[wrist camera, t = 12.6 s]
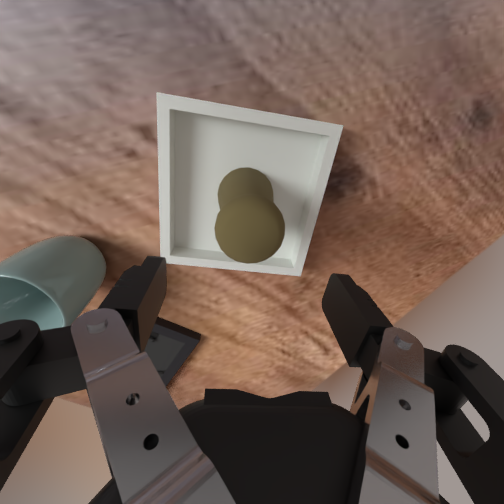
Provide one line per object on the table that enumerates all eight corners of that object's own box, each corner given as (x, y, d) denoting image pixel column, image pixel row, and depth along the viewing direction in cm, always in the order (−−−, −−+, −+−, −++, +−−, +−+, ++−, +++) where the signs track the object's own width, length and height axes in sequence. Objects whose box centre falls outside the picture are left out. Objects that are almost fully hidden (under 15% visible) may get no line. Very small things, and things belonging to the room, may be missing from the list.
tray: (165, 95, 22) (156, 92, 20) (331, 125, 24) (343, 125, 22) (167, 250, 30) (160, 262, 27) (295, 263, 32) (300, 276, 29)
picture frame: (154, 395, 43) (201, 330, 37) (151, 408, 41) (199, 342, 35) (75, 371, 39) (112, 295, 33) (67, 385, 37) (104, 306, 31)
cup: (95, 218, 27) (27, 264, 18) (127, 275, 31) (84, 335, 22) (30, 234, 28) (-65, 286, 19) (70, 288, 31) (5, 353, 23)
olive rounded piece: (235, 232, 28) (235, 289, 18) (206, 185, 26) (187, 224, 16) (282, 206, 27) (309, 253, 17) (256, 155, 24) (270, 176, 15)
